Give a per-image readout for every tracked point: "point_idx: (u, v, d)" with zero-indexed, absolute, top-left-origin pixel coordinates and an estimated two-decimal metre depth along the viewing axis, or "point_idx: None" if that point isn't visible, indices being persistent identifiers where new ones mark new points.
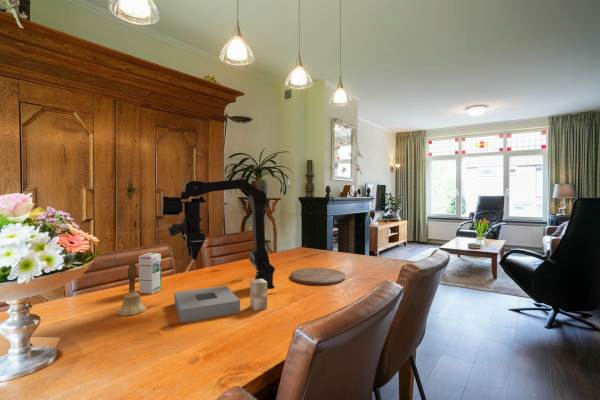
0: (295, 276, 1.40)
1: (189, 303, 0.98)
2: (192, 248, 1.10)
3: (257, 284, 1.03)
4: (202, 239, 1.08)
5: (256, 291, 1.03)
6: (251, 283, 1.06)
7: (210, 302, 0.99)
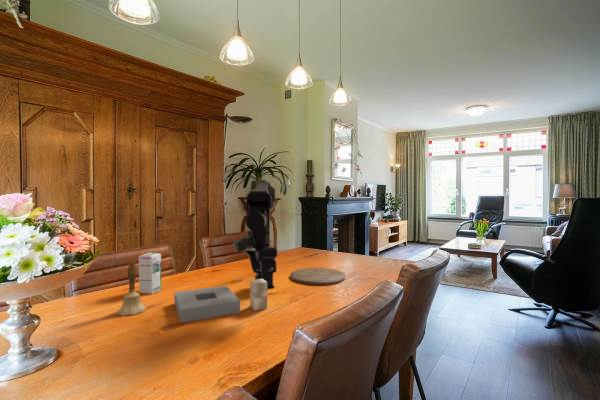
0: (295, 276, 1.40)
1: (189, 303, 0.98)
2: (262, 265, 1.00)
3: (257, 284, 1.03)
4: (274, 255, 0.98)
5: (256, 291, 1.03)
6: (251, 283, 1.06)
7: (210, 302, 0.99)
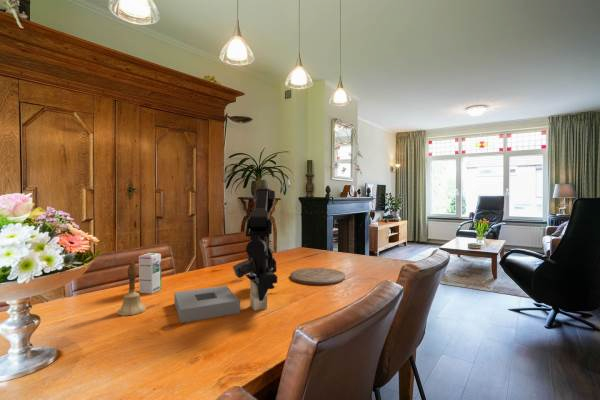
0: (295, 276, 1.40)
1: (189, 303, 0.98)
2: (260, 289, 1.02)
3: None
4: (274, 282, 0.98)
5: (256, 291, 1.03)
6: (251, 283, 1.06)
7: (210, 302, 0.99)
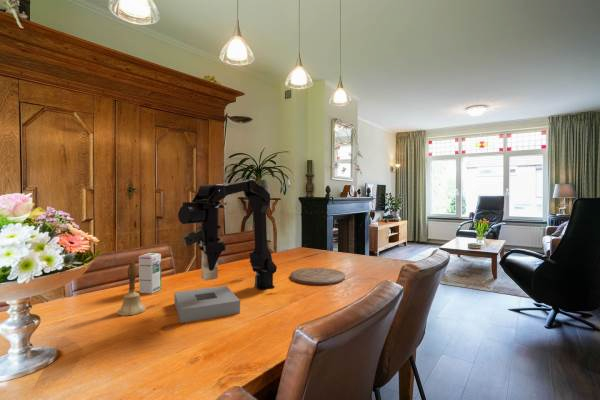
0: (295, 276, 1.40)
1: (189, 303, 0.98)
2: (209, 258, 1.01)
3: None
4: (222, 249, 0.97)
5: (205, 260, 1.02)
6: (202, 253, 1.04)
7: (210, 302, 0.99)
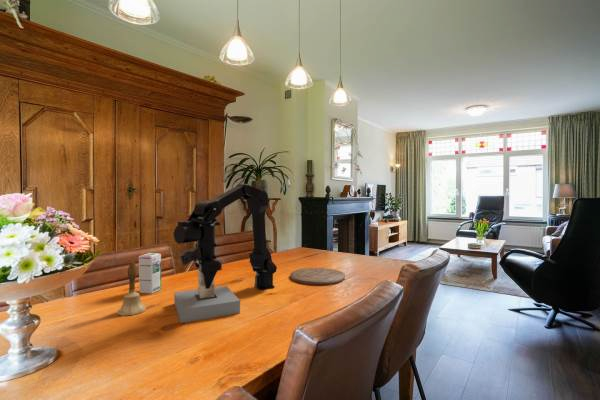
0: (295, 276, 1.40)
1: (189, 303, 0.98)
2: (205, 276, 1.01)
3: None
4: (218, 269, 0.97)
5: (202, 278, 1.02)
6: (198, 271, 1.04)
7: (210, 302, 0.99)
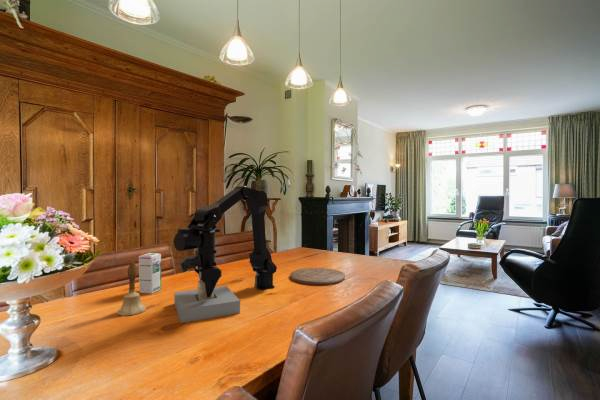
0: (295, 276, 1.40)
1: (189, 303, 0.98)
2: (206, 285, 0.99)
3: (203, 284, 1.02)
4: (218, 276, 0.97)
5: (202, 291, 1.02)
6: (198, 284, 1.05)
7: (210, 302, 0.99)
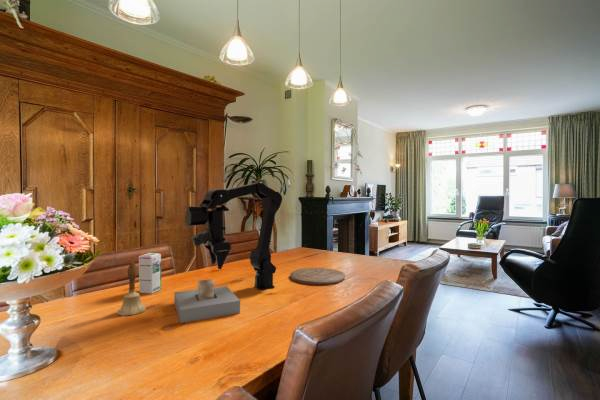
0: (295, 276, 1.40)
1: (189, 303, 0.98)
2: (218, 258, 1.09)
3: (203, 284, 1.02)
4: (228, 248, 1.08)
5: (202, 291, 1.02)
6: (198, 284, 1.05)
7: (210, 302, 0.99)
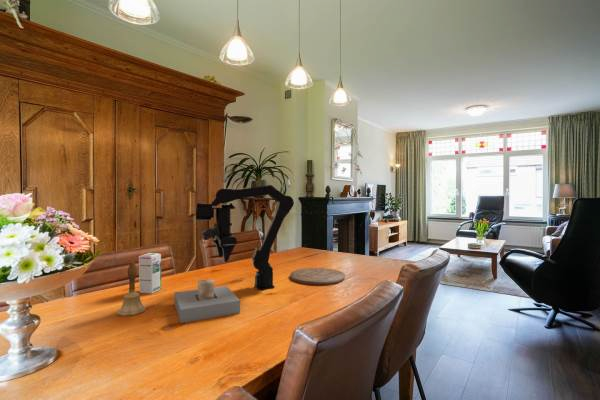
0: (295, 276, 1.40)
1: (189, 303, 0.98)
2: (224, 251, 1.19)
3: (203, 284, 1.02)
4: (234, 243, 1.18)
5: (202, 291, 1.02)
6: (198, 284, 1.05)
7: (210, 302, 0.99)
